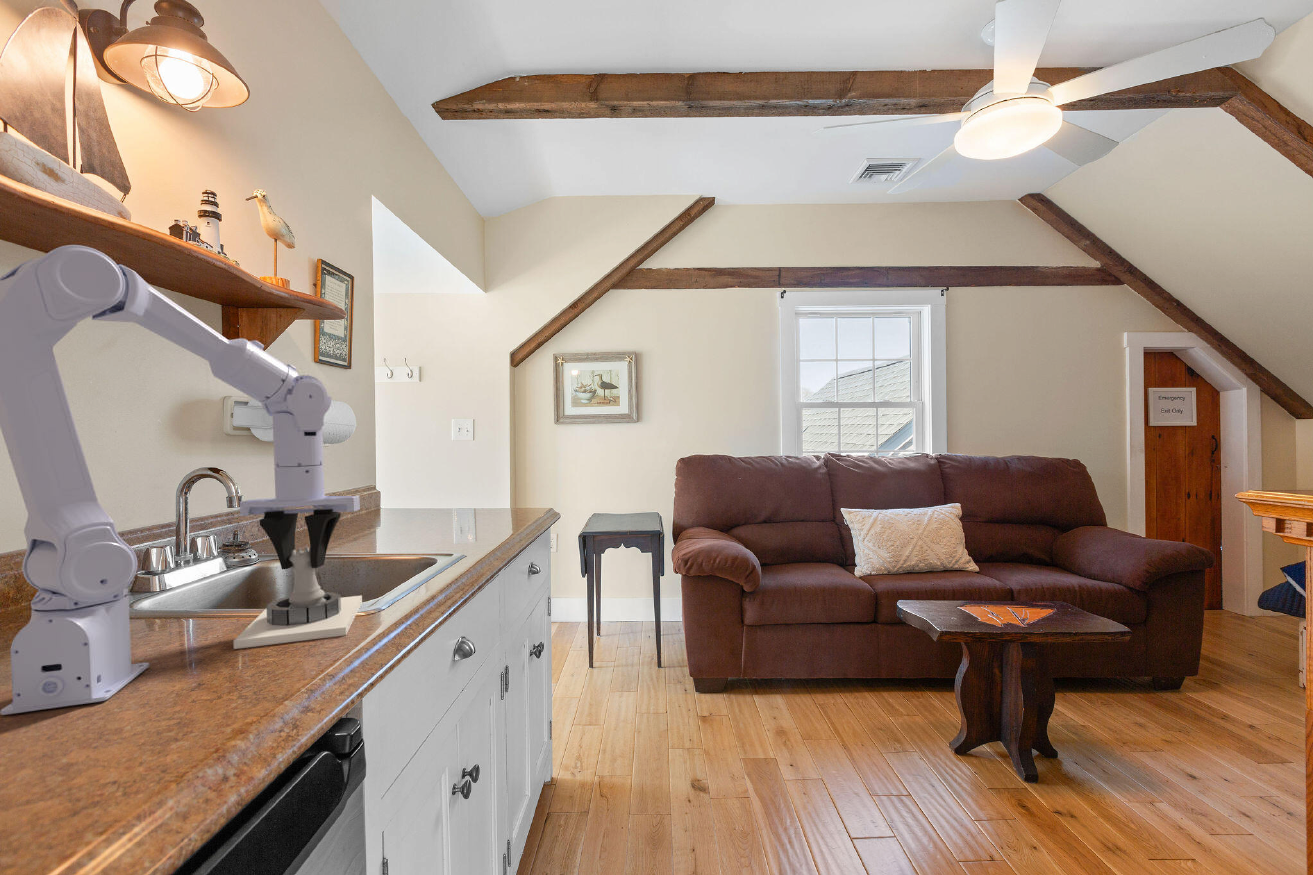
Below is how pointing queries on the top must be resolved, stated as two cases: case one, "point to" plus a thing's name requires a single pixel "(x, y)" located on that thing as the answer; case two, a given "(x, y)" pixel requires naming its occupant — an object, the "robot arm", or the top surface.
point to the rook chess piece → (304, 581)
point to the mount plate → (299, 627)
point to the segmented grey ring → (302, 611)
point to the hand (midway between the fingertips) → (303, 567)
